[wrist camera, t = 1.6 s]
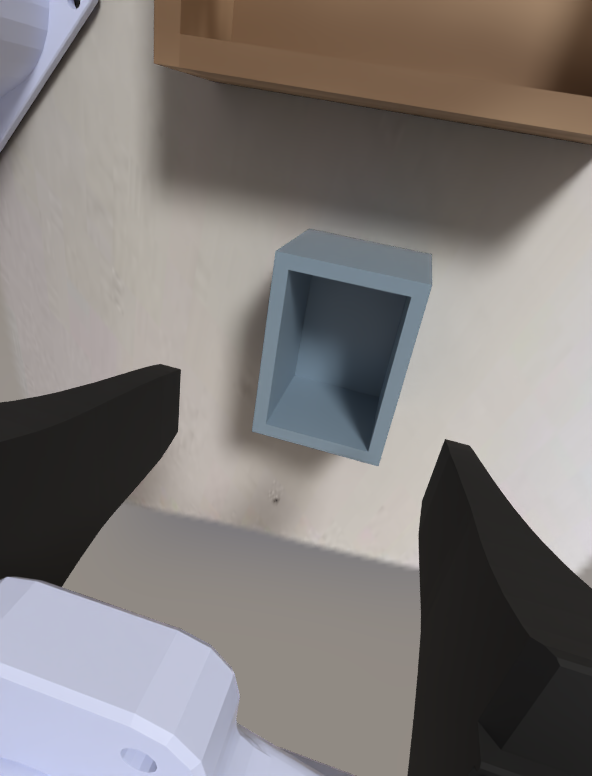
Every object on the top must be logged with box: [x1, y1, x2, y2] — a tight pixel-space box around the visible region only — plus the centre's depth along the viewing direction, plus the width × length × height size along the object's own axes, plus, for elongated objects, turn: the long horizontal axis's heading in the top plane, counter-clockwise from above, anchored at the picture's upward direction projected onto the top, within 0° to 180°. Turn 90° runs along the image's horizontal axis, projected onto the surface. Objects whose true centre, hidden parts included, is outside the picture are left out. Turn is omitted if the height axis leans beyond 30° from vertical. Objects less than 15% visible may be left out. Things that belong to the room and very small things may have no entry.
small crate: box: [252, 229, 432, 466], centre depth 19 cm, size 7×5×5 cm
